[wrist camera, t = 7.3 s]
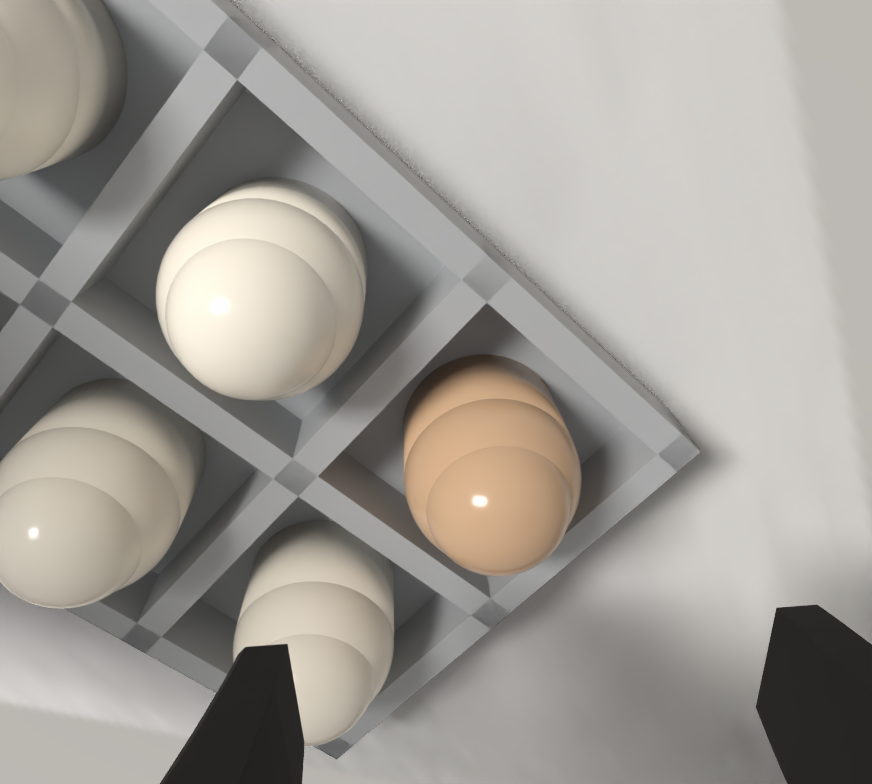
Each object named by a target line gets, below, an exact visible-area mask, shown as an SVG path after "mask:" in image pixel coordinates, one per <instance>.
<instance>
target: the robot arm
mask: <svg viewBox="0 0 872 784" xmlns="http://www.w3.org/2000/svg"><path fill="white" fill-rule="evenodd" d="M756 708H757V711H758V714H759V716H760V719H761V721H762V724H763V726H764V729H765V731H766V734H767V736H768V739H769V741H770V744H771V746H772V749H773V751H774V754H775V756H776V758H777V761H778V763H779V765H780V768H781V770H782V772H783V775H784V777H785V779H786V781H787V783H788V784H872V645H871V644H870V643H869V642H867V641H866V640H865V639H863V638H862V637H861V636H859V635H858V634H857V633H855V632H854V631H853V630H851V629H850V628H849V627H847V626H846V625H845V624H843V623H842V622H841V621H839V620H838V619H836V618H835V617H834V616H832V615H831V614H829V613H828V612H827V611H825V610H824V609H822V608H821V607H820V606H818V605H808V606H795V607H781V608H776V613H775V618H774V623H773V628H772V633H771V637H770V642H769V647H768V652H767V657H766V662H765V666H764V671H763V676H762V681H761V686H760V690H759V695H758V700H757V705H756ZM303 758H304V737H303V731H302V725H301V719H300V714H299V708H298V702H297V696H296V690H295V685H294V679H293V673H292V667H291V661H290V656H289V650H288V644H277V645H264V646H250V647H245V648H244V649H243V650H242V651H241V652H240V653H239V654H238V655H237V657H236V659H235V661H234V663H233V665H232V667H231V668H230V670H229V672H228V674H227V676H226V677H225V679H224V681H223V683H222V685H221V686H220V688H219V690H218V692H217V693H216V695H215V697H214V698H213V700H212V702H211V703H210V705H209V707H208V709H207V710H206V712H205V713H204V715H203V717H202V718H201V720H200V722H199V723H198V725H197V727H196V728H195V730H194V732H193V733H192V735H191V736H190V738H189V739H188V741H187V743H186V744H185V746H184V747H183V749H182V750H181V752H180V754H179V755H178V757H177V758H176V760H175V761H174V763H173V764H172V766H171V767H170V769H169V771H168V772H167V774H166V775H165V777H164V778H163V780H162V781H161V783H160V784H302V772H303Z"/></svg>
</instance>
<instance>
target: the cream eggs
mask: <svg viewBox="0 0 872 784" xmlns="http://www.w3.org/2000/svg"><path fill="white" fill-rule="evenodd" d="M127 82H128V80H127V63H126V56H125V51H124V48H123V44H122V40H121V38H120V35H119V32H118V30H117V27H116V25H115V23H114V21H113V19H112V17H111V15H110V13H109V12H108V10H107V9H106V7H105V6H104V4H103V3H102V1H101V0H0V181H2V180H7V179H11V178H15V177H18V176H22V175H25V174H28V173H30V172H33V171H36V170H39V169H42V168H45V167H48V166H51V165H54V164H57V163H60V162H63V161H66V160H69V159H71V158H74V157H77V156H79V155H81V154H84V153H86V152H88V151H89V150H91V149H92V148H94V147H96V146H97V145H98V144H99V143H100V142H101V141H102V140H104V139H105V138H106V136H107V135H108V134H109V133H110V132H111V130H112V129H113V127H114V126H115V124H116V122H117V121H118V119H119V116H120V114H121V111H122V109H123V106H124V102H125V98H126V92H127ZM367 277H368V259H367V253H366V248H365V245H364V241H363V238H362V236H361V234H360V231H359V229H358V227H357V226H356V224H355V222H354V221H353V219H352V218H351V216H350V215H349V214H348V212H347V211H346V210H345V209H344V208H343V207H342V206H341V205H340V204H339V203H338V202H337V201H336V200H335V199H334V198H332V197H331V196H330V195H328V194H327V193H326V192H324V191H322V190H320V189H319V188H317V187H315V186H313V185H310V184H308V183H306V182H303V181H299V180H296V179H291V178H285V177H263V178H256V179H252V180H248V181H245V182H242V183H240V184H238V185H235V186H233V187H232V188H230V189H228V190H227V191H225V192H224V193H223V194H221V195H220V196H219V197H218V198H216V199H215V200H214V201H213V202H212V203H211V204H209V205H208V206H207V207H206V208H205V209H203V210H202V211H201V212H200V213H199V214H198V215H196V216H195V217H194V218H193V219H192V220H190V221H189V222H188V223H187V224H186V225H185V226H184V227H183V228H182V229H181V230H180V232H179V233H178V234H177V235H176V236H175V238H174V239H173V241H172V242H171V244H170V245H169V247H168V248H167V251H166V253H165V255H164V257H163V259H162V262H161V266H160V269H159V273H158V277H157V284H156V307H157V313H158V319H159V323H160V326H161V330H162V332H163V335H164V337H165V339H166V341H167V343H168V345H169V347H170V348H171V350H172V352H173V353H174V355H175V356H176V357H177V358H178V360H179V361H180V362H181V364H182V365H183V366H184V367H185V368H186V369H187V370H188V371H189V372H190V373H191V374H192V375H193V376H194V377H195V378H196V379H197V380H198V381H199V382H201V383H202V384H203V385H205V386H207V387H208V388H210V389H212V390H214V391H216V392H218V393H220V394H223V395H226V396H228V397H232V398H236V399H243V400H257V401H270V400H279V399H285V398H289V397H293V396H296V395H298V394H301V393H304V392H306V391H308V390H310V389H311V388H313V387H315V386H317V385H319V384H320V383H322V382H323V381H324V380H326V379H327V378H329V377H330V376H331V375H332V374H333V373H334V372H335V371H336V370H337V369H338V368H339V366H340V365H341V364H342V363H343V361H344V360H345V359H346V358H347V356H348V355H349V353H350V351H351V350H352V348H353V346H354V344H355V342H356V339H357V337H358V334H359V331H360V327H361V323H362V320H363V311H364V303H365V294H366V285H367ZM205 465H206V448H205V443H204V439H203V436H202V433H201V431H200V429H199V428H198V427H197V426H195V425H194V424H192V423H191V422H189V421H188V420H187V419H185V418H184V417H182V416H181V415H179V414H178V413H176V412H175V411H173V410H172V409H171V408H169V407H168V406H166V405H165V404H163V403H162V402H160V401H159V400H158V399H156V398H155V397H153V396H152V395H150V394H149V393H147V392H146V391H144V390H143V389H142V388H140V387H139V386H137V385H136V384H134V383H133V382H131V381H130V380H128V379H121V378H105V379H97V380H93V381H89V382H86V383H83V384H81V385H78V386H76V387H75V388H73V389H71V390H69V391H68V392H67V393H65V394H64V395H63V396H62V397H61V398H60V399H59V400H58V401H57V402H56V403H55V404H54V405H53V406H52V407H51V408H50V409H49V410H48V411H47V412H46V413H45V414H44V415H43V417H42V418H41V419H40V420H39V421H38V422H37V423H36V424H35V425H34V426H33V427H32V428H31V429H30V430H29V431H28V432H27V433H26V434H25V435H24V436H23V437H22V439H21V440H20V441H19V442H18V443H17V444H16V445H15V446H14V447H13V448H12V449H11V450H10V451H9V452H8V453H7V455H6V456H5V457H4V458H3V460H2V461H1V462H0V582H1V584H2V585H3V586H4V587H5V588H6V589H7V590H9V591H10V592H11V593H12V594H14V595H15V596H17V597H19V598H20V599H22V600H24V601H26V602H29V603H31V604H34V605H38V606H41V607H47V608H75V607H80V606H84V605H88V604H91V603H94V602H97V601H99V600H101V599H103V598H105V597H107V596H109V595H111V594H112V593H114V592H115V591H118V590H120V589H122V588H124V587H126V586H128V585H130V584H132V583H134V582H136V581H137V580H139V579H140V578H142V577H143V576H144V575H146V574H147V573H148V572H149V571H150V570H151V569H153V568H154V567H155V566H156V565H157V564H158V562H159V561H160V560H161V559H162V558H163V556H164V555H165V554H166V553H167V551H168V549H169V548H170V546H171V544H172V542H173V540H174V539H175V537H176V535H177V532H178V530H179V528H180V526H181V523H182V521H183V519H184V517H185V514H186V512H187V510H188V508H189V506H190V503H191V501H192V499H193V497H194V494H195V492H196V490H197V488H198V485H199V483H200V481H201V479H202V476H203V473H204V470H205ZM277 644H288V650H289V656H290V661H291V667H292V673H293V679H294V685H295V690H296V696H297V702H298V708H299V714H300V719H301V725H302V731H303V737H304V746H314V745H319V744H323V743H327V742H330V741H332V740H334V739H336V738H338V737H340V736H341V735H343V734H345V733H346V732H347V731H349V730H350V729H351V728H352V727H353V726H354V725H355V724H356V723H357V722H358V721H359V719H360V718H361V717H362V715H363V714H364V713H365V711H366V709H367V707H368V705H369V704H370V703H371V702H372V701H373V700H374V698H375V697H376V696H377V694H378V693H379V692H380V690H381V688H382V686H383V685H384V683H385V681H386V678H387V676H388V673H389V671H390V667H391V664H392V659H393V652H394V571H393V565H392V563H391V560H390V559H388V558H387V557H385V556H384V555H383V554H381V553H380V552H378V551H377V550H375V549H374V548H372V547H371V546H369V545H368V544H367V543H365V542H364V541H362V540H361V539H359V538H358V537H356V536H355V535H353V534H352V533H351V532H349V531H348V530H346V529H345V528H343V527H342V526H340V525H339V524H338V523H336V522H335V521H331V520H312V521H305V522H301V523H297V524H294V525H291V526H288V527H286V528H284V529H282V530H280V531H279V532H277V533H276V534H274V535H273V536H272V537H271V538H269V539H268V540H267V541H266V542H265V543H264V545H263V546H262V547H261V549H260V550H259V552H258V553H257V556H256V558H255V560H254V564H253V567H252V571H251V575H250V578H249V582H248V586H247V589H246V593H245V597H244V600H243V604H242V608H241V611H240V615H239V619H238V622H237V626H236V630H235V635H234V641H233V662H234V661H235V659H236V657H237V655H238V654H239V653H240V652H241V651H242V650H243V649H244V648H245V647H250V646H264V645H277Z"/></svg>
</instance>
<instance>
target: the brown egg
mask: <svg viewBox="0 0 872 784" xmlns="http://www.w3.org/2000/svg"><path fill="white" fill-rule="evenodd" d="M403 446H404V486H405V493H406V499H407V503H408V506H409V509H410V512H411V514H412V516H413V518H414V520H415V522H416V524H417V525H418V527H419V528H420V530H421V531H422V533H423V534H424V535H425V537H426V538H427V539H428V540H429V541H430V542H431V543H432V544H433V545H434V546H436V547H437V548H438V549H439V550H440V551H442V552H443V553H445V554H446V555H447V556H448V557H449V558H450V559H452V560H453V561H454V562H455V563H457V564H458V565H460V566H461V567H463V568H465V569H467V570H469V571H472V572H475V573H478V574H481V575H486V576H494V577H503V576H511V575H516V574H520V573H523V572H526V571H528V570H530V569H532V568H534V567H536V566H537V565H539V564H540V563H542V562H543V561H544V560H546V559H547V558H548V557H549V556H550V555H551V554H552V553H553V552H554V550H555V549H556V548H557V547H558V545H559V544H560V542H561V540H562V539H563V537H564V535H565V532H566V530H567V528H568V526H569V525H570V523H571V521H572V519H573V517H574V514H575V512H576V510H577V506H578V503H579V499H580V493H581V486H582V482H581V466H580V460H579V457H578V454H577V451H576V448H575V445H574V442H573V440H572V438H571V436H570V433H569V431H568V429H567V427H566V425H565V422H564V420H563V418H562V416H561V413H560V411H559V409H558V407H557V405H556V402H555V400H554V398H553V396H552V394H551V392H550V390H549V388H548V386H547V385H546V384H545V382H544V381H543V380H542V379H541V378H540V377H539V376H538V375H537V374H536V373H535V372H534V371H533V370H531V369H530V368H529V367H527V366H525V365H524V364H522V363H520V362H518V361H515V360H513V359H510V358H507V357H503V356H498V355H488V354H479V355H470V356H466V357H461V358H458V359H455V360H452V361H450V362H448V363H446V364H444V365H442V366H440V367H438V368H437V369H435V370H434V371H432V372H431V373H430V374H429V375H428V376H427V377H425V378H424V379H423V380H422V382H421V383H420V384H419V385H418V386H417V387H416V389H415V391H414V392H413V394H412V395H411V397H410V399H409V401H408V404H407V407H406V410H405V414H404V420H403Z"/></svg>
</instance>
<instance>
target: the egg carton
mask: <svg viewBox="0 0 872 784" xmlns="http://www.w3.org/2000/svg"><path fill="white" fill-rule="evenodd" d="M101 1H102V3H103V4H104V6H105V7H106V9H107V10H108V12H109V13H110V15H111V17H112V19H113V21H114V23H115V25H116V27H117V30H118V32H119V35H120V38H121V40H122V44H123V48H124V51H125V56H126V63H127V80H128V82H127V92H126V98H125V102H124V106H123V109H122V111H121V114H120V116H119V119H118V121H117V122H116V124H115V126H114V127H113V129H112V130H111V132H110V133H109V134H108V135H107V136H106V138H105V139H104V140H102V141H101V142H100V143H99V144H98V145H97V146H96V147H94V148H92V149H91V150H89V151H88V152H86V153H84V154H81V155H79V156H77V157H74V158H71V159H69V160H66V161H63V162H60V163H57V164H54V165H51V166H48V167H45V168H42V169H39V170H36V171H33V172H30V173H28V174H25V175H22V176H18V177H15V178H11V179H7V180H2V181H0V462H1V461H2V460H3V458H4V457H5V456H6V455H7V453H8V452H9V451H10V450H11V449H12V448H13V447H14V446H15V445H16V444H17V443H18V442H19V441H20V440H21V439H22V437H23V436H24V435H25V434H26V433H27V432H28V431H29V430H30V429H31V428H32V427H33V426H34V425H35V424H36V423H37V422H38V421H39V420H40V419H41V418H42V417H43V415H44V414H45V413H46V412H47V411H48V410H49V409H50V408H51V407H52V406H53V405H54V404H55V403H56V402H57V401H58V400H59V399H60V398H61V397H62V396H63V395H64V394H65V393H67V392H68V391H69V390H71V389H73V388H75V387H76V386H78V385H81V384H83V383H86V382H89V381H93V380H97V379H105V378H121V379H128V380H130V381H131V382H133V383H134V384H136V385H137V386H139V387H140V388H142V389H143V390H144V391H146V392H147V393H149V394H150V395H152V396H153V397H155V398H156V399H158V400H159V401H160V402H162V403H163V404H165V405H166V406H168V407H169V408H171V409H172V410H173V411H175V412H176V413H178V414H179V415H181V416H182V417H184V418H185V419H187V420H188V421H189V422H191V423H192V424H194V425H195V426H197V427H198V428H199V429H200V431H201V433H202V436H203V439H204V443H205V448H206V465H205V470H204V473H203V476H202V479H201V481H200V483H199V485H198V488H197V490H196V492H195V494H194V497H193V499H192V501H191V503H190V506H189V508H188V510H187V512H186V514H185V517H184V519H183V521H182V523H181V526H180V528H179V530H178V532H177V535H176V537H175V539H174V540H173V542H172V544H171V546H170V548H169V549H168V551H167V553H166V554H165V555H164V556H163V558H162V559H161V560H160V561H159V562H158V564H157V565H156V566H155V567H154V568H153V569H151V570H150V571H149V572H148V573H147V574H146V575H144V576H143V577H142V578H140V579H139V580H137V581H136V582H134V583H132V584H130V585H128V586H126V587H124V588H122V589H120V590H118V591H115V592H114V593H112V594H111V595H109V596H107V597H105V598H103V599H101V600H99V601H97V602H94V603H91V604H88V605H84V606H80V607H75V608H64V609H66V610H68V611H70V612H72V613H73V614H75V615H77V616H79V617H81V618H82V619H84V620H86V621H88V622H90V623H91V624H93V625H95V626H97V627H99V628H101V629H102V630H104V631H106V632H108V633H110V634H111V635H113V636H115V637H117V638H119V639H120V640H122V641H124V642H126V643H128V644H129V645H131V646H133V647H135V648H137V649H138V650H140V651H142V652H144V653H146V654H147V655H149V656H151V657H153V658H155V659H157V660H158V661H160V662H162V663H164V664H166V665H167V666H169V667H171V668H173V669H175V670H176V671H178V672H180V673H182V674H184V675H185V676H187V677H189V678H191V679H193V680H194V681H196V682H198V683H200V684H202V685H203V686H205V687H207V688H209V689H211V690H213V691H214V692H216V693H217V692H218V690H219V688H220V686H221V685H222V683H223V681H224V679H225V677H226V676H227V674H228V672H229V670H230V668H231V667H232V665H233V663H234V662H233V641H234V635H235V630H236V626H237V622H238V619H239V615H240V611H241V608H242V604H243V600H244V597H245V593H246V589H247V586H248V582H249V578H250V575H251V571H252V567H253V564H254V560H255V558H256V556H257V553H258V552H259V550H260V549H261V547H262V546H263V545H264V543H265V542H266V541H267V540H268V539H269V538H271V537H272V536H273V535H274V534H276V533H277V532H279V531H280V530H282V529H284V528H286V527H288V526H291V525H294V524H297V523H301V522H305V521H312V520H331V521H335V522H336V523H338V524H339V525H340V526H342V527H343V528H345V529H346V530H348V531H349V532H351V533H352V534H353V535H355V536H356V537H358V538H359V539H361V540H362V541H364V542H365V543H367V544H368V545H369V546H371V547H372V548H374V549H375V550H377V551H378V552H380V553H381V554H383V555H384V556H385V557H387V558H388V559H390V560H391V563H392V565H393V571H394V652H393V659H392V664H391V667H390V671H389V673H388V676H387V678H386V681H385V683H384V685H383V686H382V688H381V690H380V692H379V693H378V694H377V696H376V697H375V698H374V700H373V701H372V702H371V703H370V704H369V705H368V707H367V709H366V711H365V713H364V714H363V715H362V717H361V718H360V719H359V721H358V722H357V723H356V724H355V725H354V726H353V727H352V728H351V729H350V730H349V731H347V732H346V733H345V734H343V735H341V736H340V737H338V738H336V739H334V740H332V741H330V742H327V743H323V744H319V745H314V747H315V748H317V749H319V750H321V751H323V752H325V753H326V754H328V755H330V756H332V757H334V758H335V759H338V758H339V757H340V756H341V755H342V754H344V753H345V752H346V751H347V750H348V749H350V748H351V747H352V746H353V745H354V744H355V743H357V742H358V741H359V740H360V739H361V738H363V737H364V736H365V735H366V734H367V733H369V732H370V731H371V730H372V729H373V728H374V727H376V726H377V725H378V724H379V723H380V722H382V721H383V720H384V719H385V718H386V717H387V716H389V715H390V714H391V713H392V712H393V711H395V710H396V709H397V708H398V707H399V706H401V705H402V704H403V703H404V702H405V701H406V700H408V699H409V698H410V697H411V696H412V695H414V694H415V693H416V692H417V691H418V690H419V689H421V688H422V687H423V686H424V685H425V684H427V683H428V682H429V681H430V680H431V679H433V678H434V677H435V676H436V675H437V674H438V673H440V672H441V671H442V670H443V669H444V668H446V667H447V666H448V665H449V664H450V663H451V662H453V661H454V660H455V659H456V658H457V657H459V656H460V655H461V654H462V653H463V652H465V651H466V650H467V649H468V648H469V647H470V646H472V645H473V644H474V643H475V642H476V641H478V640H479V639H480V638H481V637H482V636H483V635H485V634H486V633H487V632H488V631H489V630H491V629H492V628H493V627H494V626H495V625H497V624H498V623H499V622H500V621H501V620H502V619H504V618H505V617H506V616H507V615H508V614H510V613H511V612H512V611H513V610H514V609H515V608H517V607H518V606H519V605H520V604H521V603H523V602H524V601H525V600H526V599H527V598H528V597H530V596H531V595H532V594H533V593H534V592H536V591H537V590H538V589H539V588H540V587H542V586H543V585H544V584H545V583H546V582H547V581H549V580H550V579H551V578H552V577H553V576H555V575H556V574H557V573H558V572H559V571H560V570H562V569H563V568H564V567H565V566H566V565H568V564H569V563H570V562H571V561H572V560H574V559H575V558H576V557H577V556H578V555H579V554H581V553H582V552H583V551H584V550H585V549H587V548H588V547H589V546H590V545H591V544H592V543H594V542H595V541H596V540H597V539H598V538H600V537H601V536H602V535H603V534H604V533H606V532H607V531H608V530H609V529H610V528H611V527H613V526H614V525H615V524H616V523H617V522H619V521H620V520H621V519H622V518H623V517H624V516H626V515H627V514H628V513H629V512H630V511H632V510H633V509H634V508H635V507H636V506H638V505H639V504H640V503H641V502H642V501H643V500H645V499H646V498H647V497H648V496H649V495H651V494H652V493H653V492H654V491H655V490H656V489H658V488H659V487H660V486H661V485H662V484H664V483H665V482H666V481H667V480H668V479H670V478H671V477H672V476H673V475H674V474H675V473H677V472H678V471H679V470H680V469H681V468H683V467H684V466H685V465H686V464H687V463H688V462H690V461H691V460H692V459H693V458H694V457H696V456H697V455H698V454H699V453H700V452H701V451H700V450H699V449H698V447H697V446H696V445H695V443H694V442H693V441H692V440H691V438H690V437H689V436H688V434H687V433H686V432H685V430H684V429H683V428H682V426H681V425H680V424H679V422H678V421H677V420H676V419H675V417H674V416H673V415H672V413H671V412H670V411H669V409H668V408H667V407H666V406H665V405H664V404H663V403H661V402H660V401H659V400H658V399H657V398H656V397H655V396H654V395H653V394H652V393H651V392H650V391H649V390H648V389H646V388H645V387H644V386H643V385H642V384H641V383H640V382H639V381H638V380H637V379H636V378H635V377H634V376H632V375H631V374H630V373H629V372H628V371H627V370H626V369H625V368H624V367H623V366H622V365H621V364H620V363H619V362H617V361H616V360H615V359H614V358H613V357H612V356H611V355H610V354H609V353H608V352H607V351H606V350H605V349H603V348H602V347H601V346H600V345H599V344H598V343H597V342H596V341H595V340H594V339H593V338H592V337H591V336H590V335H588V334H587V333H586V332H585V331H584V330H583V329H582V328H581V327H580V326H579V325H578V324H577V323H576V322H574V321H573V320H572V319H571V318H570V317H569V316H568V315H567V314H566V313H565V312H564V311H563V310H562V309H561V308H559V307H558V306H557V305H556V304H555V303H554V302H553V301H552V300H551V299H550V298H549V297H548V296H547V295H545V294H544V293H543V292H542V291H541V290H540V289H539V288H538V287H537V286H536V285H535V284H534V283H533V282H532V281H530V280H529V279H528V278H527V277H526V276H525V275H524V274H523V273H522V272H521V271H520V270H519V269H518V268H516V267H515V266H514V265H513V264H512V263H511V262H510V261H509V260H508V259H507V258H506V257H505V256H504V255H503V254H501V253H500V252H499V251H498V250H497V249H496V248H495V247H494V246H493V245H492V244H491V243H490V242H489V241H487V240H486V239H485V238H484V237H483V236H482V235H481V234H480V233H479V232H478V231H477V230H476V229H475V228H474V227H472V226H471V225H470V224H469V223H468V222H467V221H466V220H465V219H464V218H463V217H462V216H461V215H460V214H458V213H457V212H456V211H455V210H454V209H453V208H452V207H451V206H450V205H449V204H448V203H447V202H446V201H445V200H443V199H442V198H441V197H440V196H439V195H438V194H437V193H436V192H435V191H434V190H433V189H432V188H431V187H429V186H428V185H427V184H426V183H425V182H424V181H423V180H422V179H421V178H420V177H419V176H418V175H417V174H416V173H414V172H413V171H412V170H411V169H410V168H409V167H408V166H407V165H406V164H405V163H404V162H403V161H402V160H400V159H399V158H398V157H397V156H396V155H395V154H394V153H393V152H392V151H391V150H390V149H389V148H388V147H387V146H385V145H384V144H383V143H382V142H381V141H380V140H379V139H378V138H377V137H376V136H375V135H374V134H373V133H371V132H370V131H369V130H368V129H367V128H366V127H365V126H364V125H363V124H362V123H361V122H360V121H359V120H358V119H356V118H355V117H354V116H353V115H352V114H351V113H350V112H349V111H348V110H347V109H346V108H345V107H344V106H342V105H341V104H340V103H339V102H338V101H337V100H336V99H335V98H334V97H333V96H332V95H331V94H330V93H329V92H327V91H326V90H325V89H324V88H323V87H322V86H321V85H320V84H319V83H318V82H317V81H316V80H315V79H313V78H312V77H311V76H310V75H309V74H308V73H307V72H306V71H305V70H304V69H303V68H302V67H301V66H300V65H298V64H297V63H296V62H295V61H294V60H293V59H292V58H291V57H290V56H289V55H288V54H287V53H286V52H284V51H283V50H282V49H281V48H280V47H279V46H278V45H277V44H276V43H275V42H274V41H273V40H272V39H271V38H269V37H268V36H267V35H266V34H265V33H264V32H263V31H262V30H261V29H260V28H259V27H258V26H257V25H255V24H254V23H253V22H252V21H251V20H250V19H249V18H248V17H247V16H246V15H245V14H244V13H243V12H241V11H240V10H239V9H238V8H237V7H236V6H235V5H234V4H233V3H232V2H231V1H230V0H101ZM263 177H285V178H291V179H296V180H299V181H303V182H306V183H308V184H310V185H313V186H315V187H317V188H319V189H320V190H322V191H324V192H326V193H327V194H328V195H330V196H331V197H332V198H334V199H335V200H336V201H337V202H338V203H339V204H340V205H341V206H342V207H343V208H344V209H345V210H346V211H347V212H348V214H349V215H350V216H351V218H352V219H353V221H354V222H355V224H356V226H357V227H358V229H359V231H360V234H361V236H362V238H363V241H364V245H365V248H366V253H367V259H368V277H367V285H366V294H365V303H364V311H363V320H362V323H361V327H360V331H359V334H358V337H357V339H356V342H355V344H354V346H353V348H352V350H351V351H350V353H349V355H348V356H347V358H346V359H345V360H344V361H343V363H342V364H341V365H340V366H339V368H338V369H337V370H336V371H335V372H334V373H333V374H332V375H331V376H330V377H329V378H327V379H326V380H324V381H323V382H322V383H320V384H319V385H317V386H315V387H313V388H311V389H310V390H308V391H306V392H304V393H301V394H298V395H296V396H293V397H289V398H285V399H279V400H270V401H257V400H243V399H236V398H232V397H228V396H226V395H223V394H220V393H218V392H216V391H214V390H212V389H210V388H208V387H207V386H205V385H203V384H202V383H201V382H199V381H198V380H197V379H196V378H195V377H194V376H193V375H192V374H191V373H190V372H189V371H188V370H187V369H186V368H185V367H184V366H183V365H182V364H181V362H180V361H179V360H178V358H177V357H176V356H175V355H174V353H173V352H172V350H171V348H170V347H169V345H168V343H167V341H166V339H165V337H164V335H163V332H162V330H161V326H160V323H159V319H158V313H157V307H156V284H157V277H158V273H159V269H160V266H161V262H162V259H163V257H164V255H165V253H166V251H167V248H168V247H169V245H170V244H171V242H172V241H173V239H174V238H175V236H176V235H177V234H178V233H179V232H180V230H181V229H182V228H183V227H184V226H185V225H186V224H187V223H188V222H189V221H190V220H192V219H193V218H194V217H195V216H196V215H198V214H199V213H200V212H201V211H202V210H203V209H205V208H206V207H207V206H208V205H209V204H211V203H212V202H213V201H214V200H215V199H216V198H218V197H219V196H220V195H221V194H223V193H224V192H225V191H227V190H228V189H230V188H232V187H233V186H235V185H238V184H240V183H242V182H245V181H248V180H252V179H256V178H263ZM479 354H488V355H498V356H503V357H507V358H510V359H513V360H515V361H518V362H520V363H522V364H524V365H525V366H527V367H529V368H530V369H531V370H533V371H534V372H535V373H536V374H537V375H538V376H539V377H540V378H541V379H542V380H543V381H544V382H545V384H546V385H547V386H548V388H549V390H550V392H551V394H552V396H553V398H554V400H555V402H556V405H557V407H558V409H559V411H560V413H561V416H562V418H563V420H564V422H565V425H566V427H567V429H568V431H569V433H570V436H571V438H572V440H573V442H574V445H575V448H576V451H577V454H578V457H579V460H580V466H581V482H582V486H581V493H580V499H579V503H578V506H577V510H576V512H575V514H574V517H573V519H572V521H571V523H570V525H569V526H568V528H567V530H566V532H565V535H564V537H563V539H562V540H561V542H560V544H559V545H558V547H557V548H556V549H555V550H554V552H553V553H552V554H551V555H550V556H549V557H548V558H547V559H546V560H544V561H543V562H542V563H540V564H539V565H537V566H536V567H534V568H532V569H530V570H528V571H526V572H523V573H520V574H516V575H511V576H503V577H494V576H486V575H481V574H478V573H475V572H472V571H469V570H467V569H465V568H463V567H461V566H460V565H458V564H457V563H455V562H454V561H453V560H452V559H450V558H449V557H448V556H447V555H446V554H445V553H443V552H442V551H440V550H439V549H438V548H437V547H436V546H434V545H433V544H432V543H431V542H430V541H429V540H428V539H427V538H426V537H425V535H424V534H423V533H422V531H421V530H420V528H419V527H418V525H417V524H416V522H415V520H414V518H413V516H412V514H411V512H410V509H409V506H408V503H407V499H406V493H405V486H404V446H403V420H404V414H405V410H406V407H407V404H408V401H409V399H410V397H411V395H412V394H413V392H414V391H415V389H416V387H417V386H418V385H419V384H420V383H421V382H422V380H423V379H424V378H425V377H427V376H428V375H429V374H430V373H431V372H432V371H434V370H435V369H437V368H438V367H440V366H442V365H444V364H446V363H448V362H450V361H452V360H455V359H458V358H461V357H466V356H470V355H479Z"/></svg>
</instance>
